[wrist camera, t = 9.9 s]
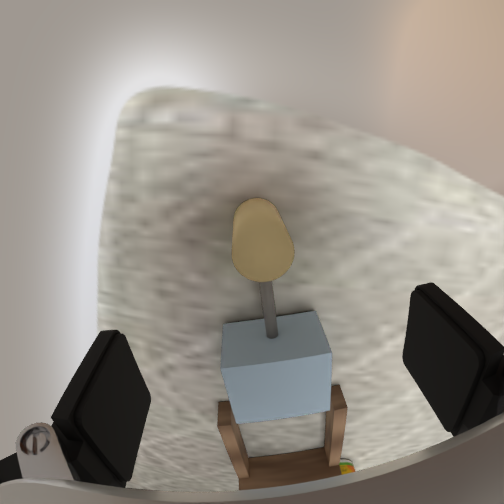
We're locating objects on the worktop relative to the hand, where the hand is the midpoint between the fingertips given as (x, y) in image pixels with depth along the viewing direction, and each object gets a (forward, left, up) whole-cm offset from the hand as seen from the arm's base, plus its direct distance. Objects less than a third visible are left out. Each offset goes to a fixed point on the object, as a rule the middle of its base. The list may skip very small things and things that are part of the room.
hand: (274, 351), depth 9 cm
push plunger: (-5, 0, -12) cm, 13 cm away
